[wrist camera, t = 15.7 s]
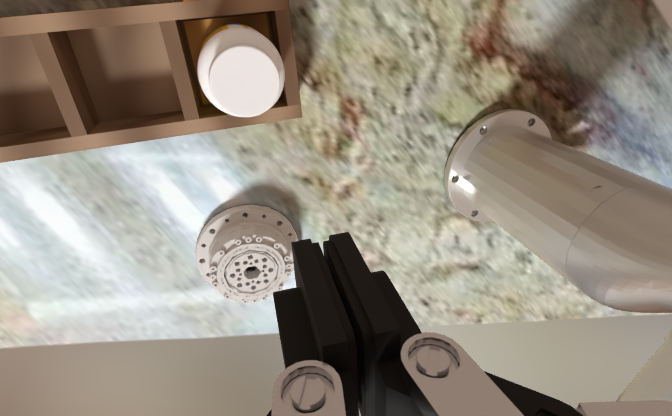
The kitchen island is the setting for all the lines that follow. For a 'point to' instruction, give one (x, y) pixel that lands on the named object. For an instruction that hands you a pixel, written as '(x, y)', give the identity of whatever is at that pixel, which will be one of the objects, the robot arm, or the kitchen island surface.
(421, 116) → the kitchen island surface
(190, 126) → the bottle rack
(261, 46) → the supplement bottle
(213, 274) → the mechanical component
